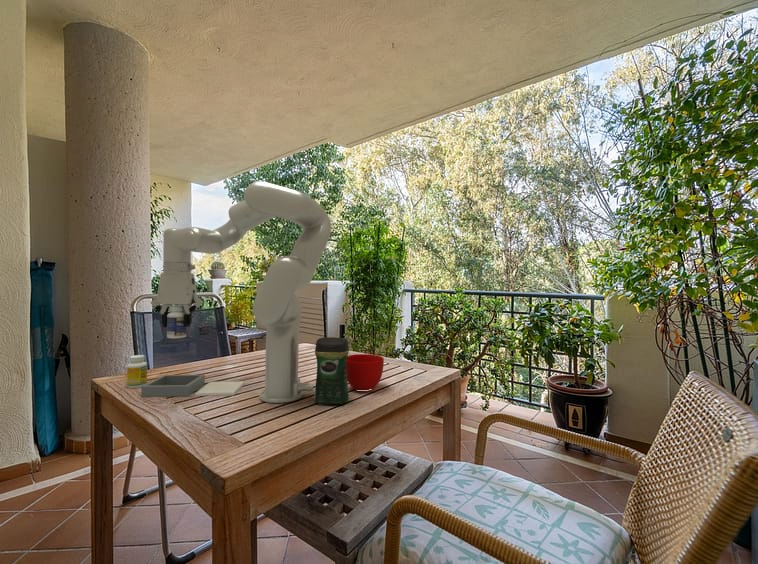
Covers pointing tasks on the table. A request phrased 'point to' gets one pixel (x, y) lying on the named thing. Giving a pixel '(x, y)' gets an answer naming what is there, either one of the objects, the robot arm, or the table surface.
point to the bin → (173, 385)
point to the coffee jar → (331, 371)
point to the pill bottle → (176, 323)
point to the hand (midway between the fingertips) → (176, 326)
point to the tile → (220, 388)
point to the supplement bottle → (136, 372)
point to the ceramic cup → (364, 370)
